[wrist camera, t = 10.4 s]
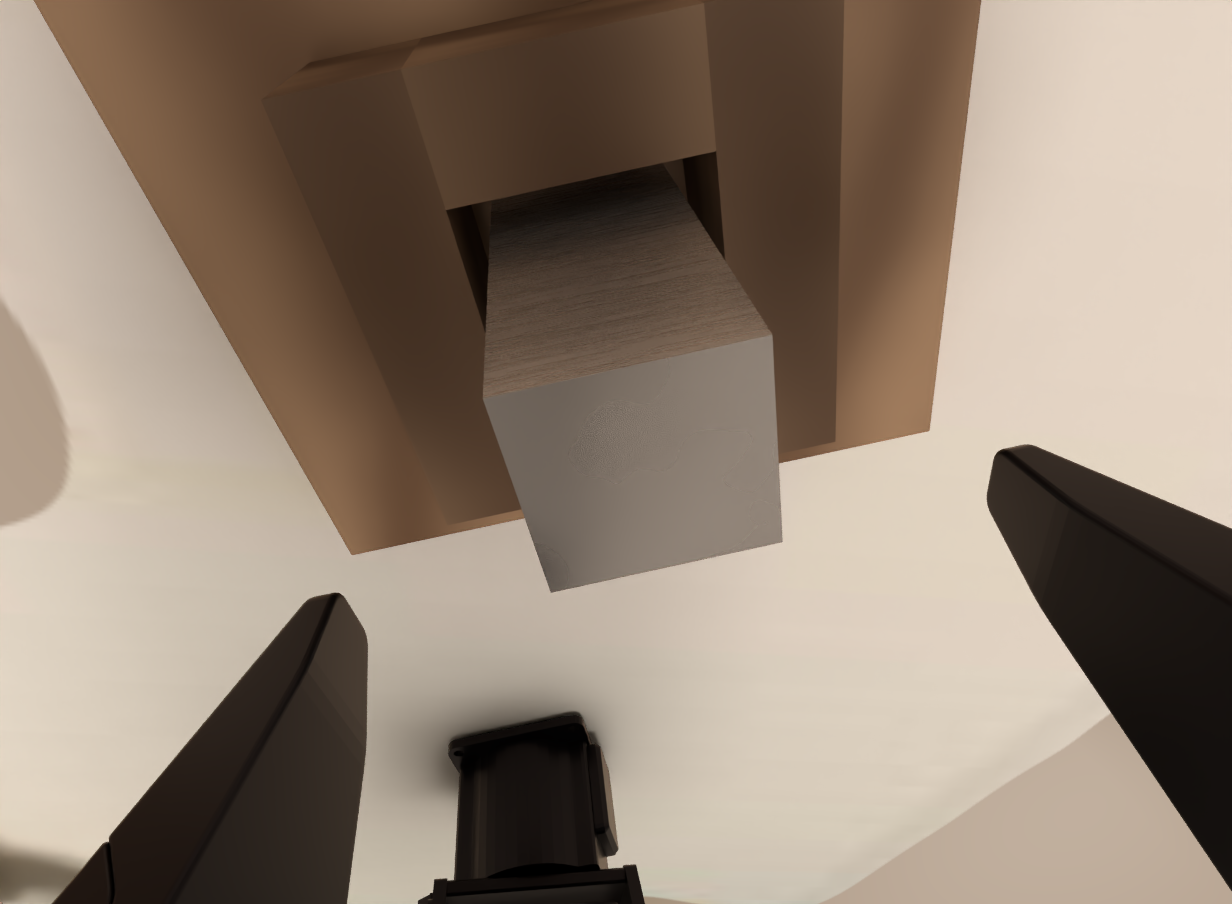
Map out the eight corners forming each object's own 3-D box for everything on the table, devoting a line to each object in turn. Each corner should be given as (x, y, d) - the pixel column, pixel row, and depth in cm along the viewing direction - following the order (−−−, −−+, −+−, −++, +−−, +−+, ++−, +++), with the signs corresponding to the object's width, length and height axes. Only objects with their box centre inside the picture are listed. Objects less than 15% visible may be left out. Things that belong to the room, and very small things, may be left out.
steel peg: (532, 324, 20) (550, 592, 12) (492, 180, 18) (482, 398, 10) (671, 293, 20) (782, 542, 12) (651, 145, 18) (772, 334, 10)
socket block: (358, 525, 26) (328, 651, 21) (14, -106, 15) (-194, -115, 10) (909, 406, 25) (993, 508, 21) (979, -319, 14) (1184, -419, 10)
